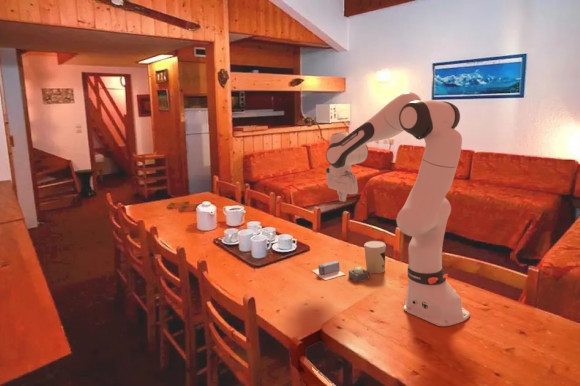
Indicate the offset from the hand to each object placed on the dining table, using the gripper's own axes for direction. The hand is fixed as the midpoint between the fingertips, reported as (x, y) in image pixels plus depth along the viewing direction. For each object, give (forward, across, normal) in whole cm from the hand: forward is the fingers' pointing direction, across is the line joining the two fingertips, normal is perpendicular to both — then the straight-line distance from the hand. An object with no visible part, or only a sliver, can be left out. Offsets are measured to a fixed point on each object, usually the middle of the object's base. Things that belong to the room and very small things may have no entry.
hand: (342, 200), depth 176 cm
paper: (+31, -1, +10) cm, 33 cm away
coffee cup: (+31, -10, -9) cm, 34 cm away
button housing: (+31, -13, +2) cm, 34 cm away
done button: (+31, -13, +2) cm, 34 cm away
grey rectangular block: (+31, -1, +10) cm, 32 cm away
